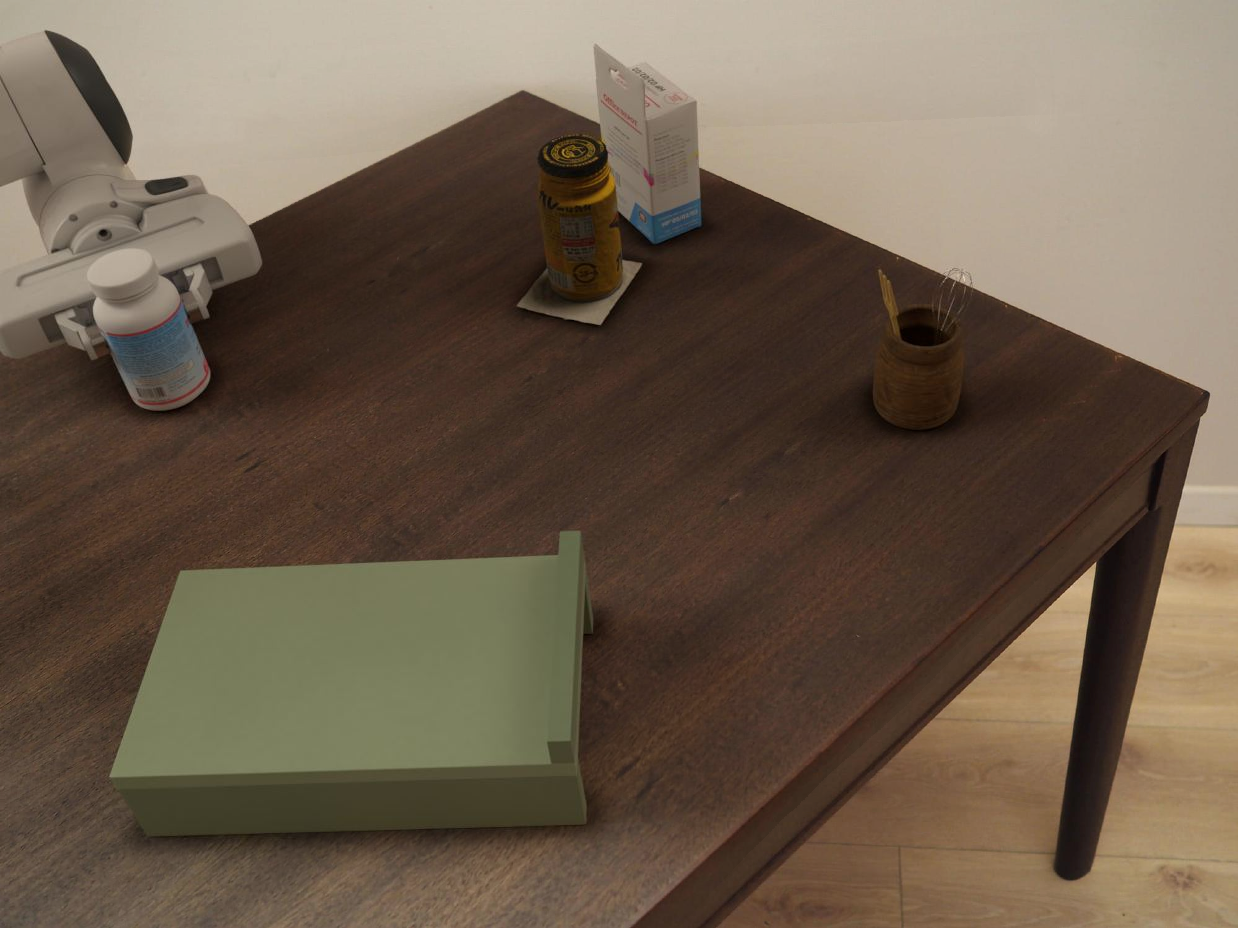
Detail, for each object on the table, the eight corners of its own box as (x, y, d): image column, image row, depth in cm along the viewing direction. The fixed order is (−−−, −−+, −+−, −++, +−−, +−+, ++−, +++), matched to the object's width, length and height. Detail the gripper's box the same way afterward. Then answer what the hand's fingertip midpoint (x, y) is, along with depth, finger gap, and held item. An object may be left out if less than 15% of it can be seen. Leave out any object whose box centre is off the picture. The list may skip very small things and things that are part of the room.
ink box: (705, 226, 107) (699, 63, 97) (653, 247, 105) (642, 83, 95) (653, 182, 112) (643, 23, 102) (604, 201, 111) (588, 41, 101)
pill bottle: (228, 375, 97) (182, 254, 90) (170, 423, 94) (116, 302, 86) (173, 353, 100) (123, 233, 92) (115, 399, 96) (57, 278, 89)
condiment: (642, 265, 104) (632, 133, 95) (600, 327, 98) (586, 193, 90) (562, 250, 106) (545, 120, 98) (516, 309, 101) (495, 177, 92)
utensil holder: (973, 420, 88) (996, 279, 79) (889, 443, 87) (903, 302, 78) (934, 369, 92) (952, 229, 83) (853, 390, 91) (863, 250, 82)
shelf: (147, 836, 69) (94, 755, 64) (210, 632, 79) (168, 547, 74) (586, 825, 68) (570, 740, 62) (593, 618, 78) (580, 530, 72)
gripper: (-46, 253, 96) (-16, 349, 87) (216, 167, 102) (269, 248, 93) (-11, 319, 100) (21, 417, 91) (238, 233, 106) (291, 316, 97)
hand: (149, 331), depth 92 cm, fingers closed on pill bottle, 6 cm apart
